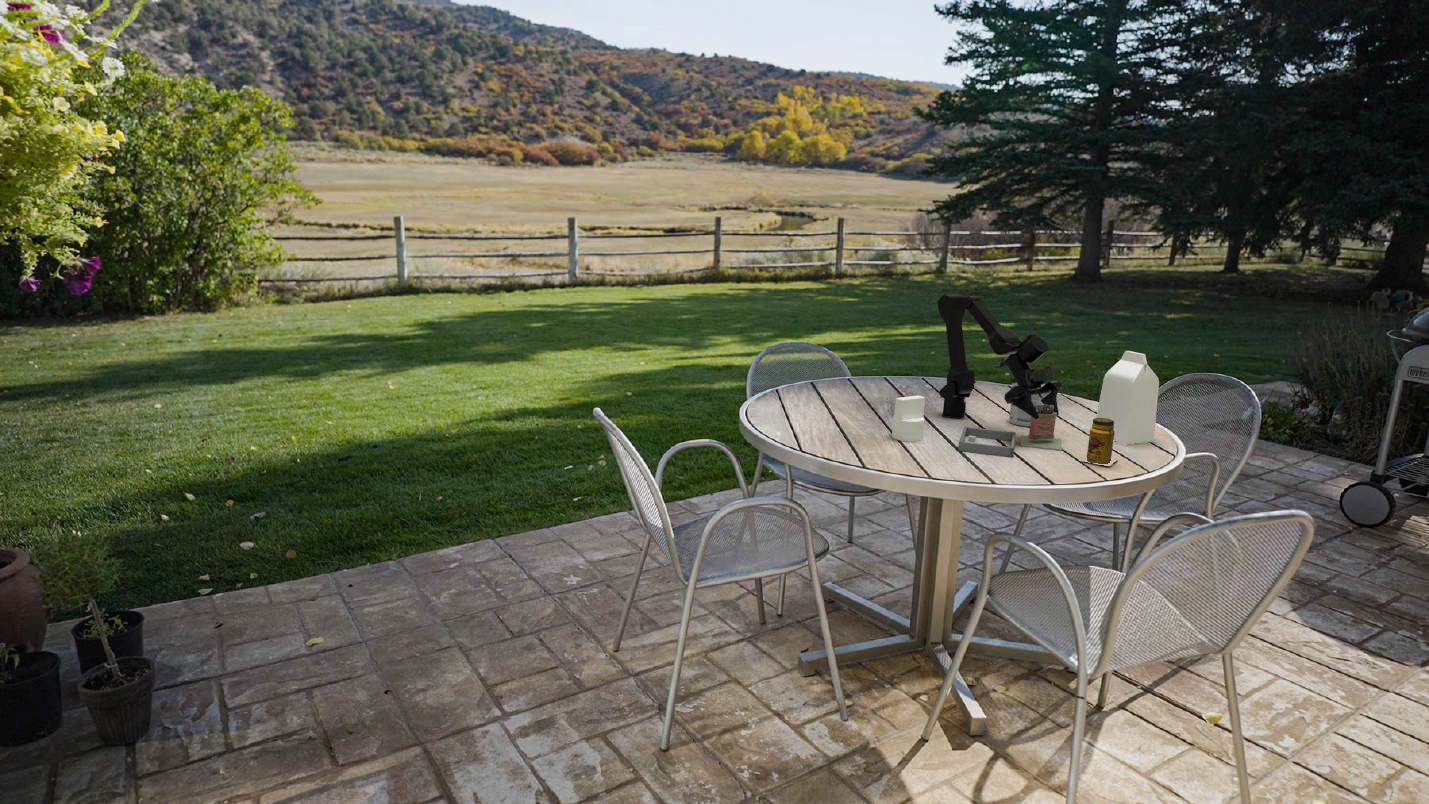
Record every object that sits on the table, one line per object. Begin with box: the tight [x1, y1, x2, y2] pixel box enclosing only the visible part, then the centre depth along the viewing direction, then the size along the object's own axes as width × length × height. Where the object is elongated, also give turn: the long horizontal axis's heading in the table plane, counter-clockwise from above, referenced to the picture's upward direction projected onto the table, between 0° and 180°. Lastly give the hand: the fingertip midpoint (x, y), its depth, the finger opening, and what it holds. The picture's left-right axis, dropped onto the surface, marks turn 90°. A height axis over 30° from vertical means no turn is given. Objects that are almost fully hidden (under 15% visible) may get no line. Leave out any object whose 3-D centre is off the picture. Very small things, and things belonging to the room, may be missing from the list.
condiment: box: [1086, 417, 1115, 464], centre depth 228 cm, size 7×8×12 cm
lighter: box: [1027, 404, 1058, 440], centre depth 244 cm, size 8×3×10 cm, turn 106°
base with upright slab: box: [891, 395, 926, 443], centre depth 247 cm, size 9×9×12 cm
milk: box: [1095, 350, 1160, 445], centre depth 250 cm, size 12×12×26 cm
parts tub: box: [957, 426, 1017, 458], centre depth 242 cm, size 15×18×2 cm
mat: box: [1020, 434, 1063, 452], centre depth 245 cm, size 11×11×1 cm
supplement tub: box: [1008, 382, 1046, 428], centre depth 265 cm, size 10×10×15 cm
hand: (1047, 417), depth 242 cm, fingers closed on lighter, 8 cm apart
